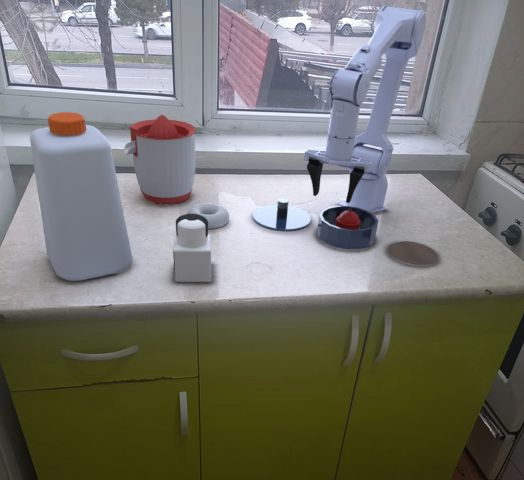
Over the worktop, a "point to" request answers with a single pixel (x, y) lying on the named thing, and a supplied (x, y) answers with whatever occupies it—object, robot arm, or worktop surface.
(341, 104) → the robot arm
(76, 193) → the plastic bottle
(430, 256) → the coaster
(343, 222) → the red rubber stopper
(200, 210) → the donut
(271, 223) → the lid
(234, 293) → the worktop surface
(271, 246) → the worktop surface
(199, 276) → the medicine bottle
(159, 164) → the citrus juicer
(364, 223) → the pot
